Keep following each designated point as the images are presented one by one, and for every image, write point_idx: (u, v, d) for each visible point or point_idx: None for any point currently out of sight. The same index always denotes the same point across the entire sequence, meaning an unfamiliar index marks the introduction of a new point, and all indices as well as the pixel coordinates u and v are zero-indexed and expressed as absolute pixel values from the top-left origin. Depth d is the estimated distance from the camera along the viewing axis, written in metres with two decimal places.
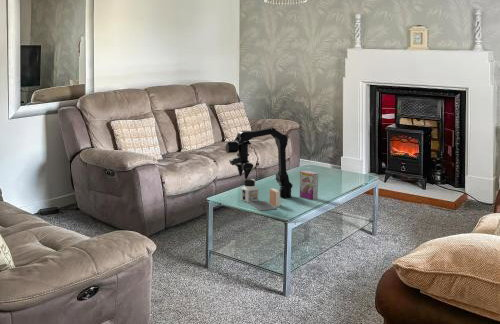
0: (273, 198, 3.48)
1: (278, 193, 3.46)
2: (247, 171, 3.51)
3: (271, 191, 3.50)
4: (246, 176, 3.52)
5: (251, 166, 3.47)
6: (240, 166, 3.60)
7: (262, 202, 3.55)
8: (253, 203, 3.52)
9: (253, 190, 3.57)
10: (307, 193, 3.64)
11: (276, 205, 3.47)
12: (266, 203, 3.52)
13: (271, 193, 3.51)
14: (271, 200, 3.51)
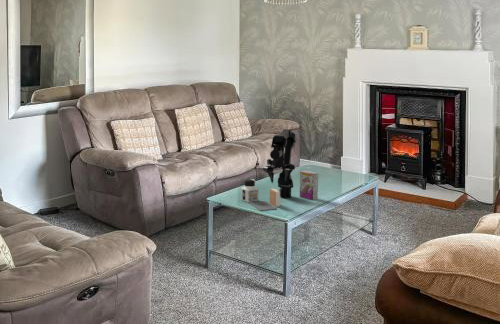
0: (273, 198, 3.48)
1: (278, 193, 3.46)
2: (270, 175, 3.48)
3: (271, 191, 3.50)
4: (271, 180, 3.49)
5: (266, 170, 3.45)
6: (286, 171, 3.53)
7: (262, 202, 3.55)
8: (253, 203, 3.52)
9: (253, 190, 3.57)
10: (307, 193, 3.64)
11: (276, 205, 3.47)
12: (266, 203, 3.52)
13: (271, 193, 3.51)
14: (271, 200, 3.51)
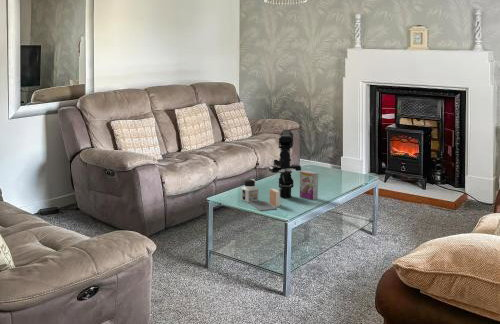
0: (273, 198, 3.48)
1: (278, 193, 3.46)
2: (283, 175, 3.49)
3: (271, 191, 3.50)
4: (283, 180, 3.50)
5: (271, 170, 3.44)
6: None
7: (262, 202, 3.55)
8: (253, 203, 3.52)
9: (253, 190, 3.57)
10: (307, 193, 3.64)
11: (276, 205, 3.47)
12: (266, 203, 3.52)
13: (271, 193, 3.51)
14: (271, 200, 3.51)
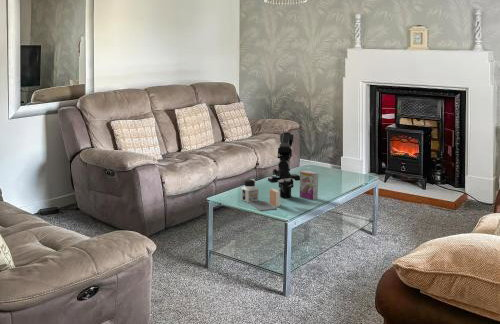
0: (273, 198, 3.48)
1: (278, 193, 3.46)
2: (282, 185, 3.50)
3: (271, 191, 3.50)
4: (282, 189, 3.51)
5: (270, 180, 3.45)
6: (285, 183, 3.51)
7: (262, 202, 3.55)
8: (253, 203, 3.52)
9: (253, 190, 3.57)
10: (307, 193, 3.64)
11: (276, 205, 3.47)
12: (266, 203, 3.52)
13: (271, 193, 3.51)
14: (271, 200, 3.51)
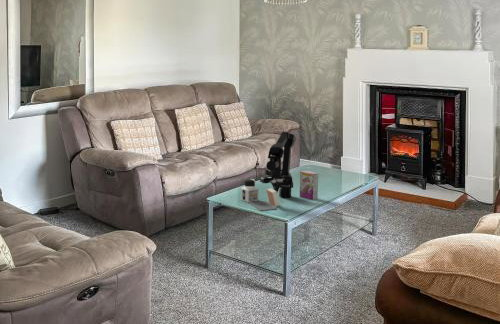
0: (271, 198, 3.48)
1: (275, 193, 3.45)
2: (274, 185, 3.48)
3: (268, 192, 3.50)
4: None
5: (262, 181, 3.43)
6: None
7: (262, 202, 3.55)
8: (253, 203, 3.52)
9: (253, 190, 3.57)
10: (307, 193, 3.64)
11: (276, 205, 3.47)
12: (266, 203, 3.52)
13: (268, 194, 3.50)
14: (270, 200, 3.51)
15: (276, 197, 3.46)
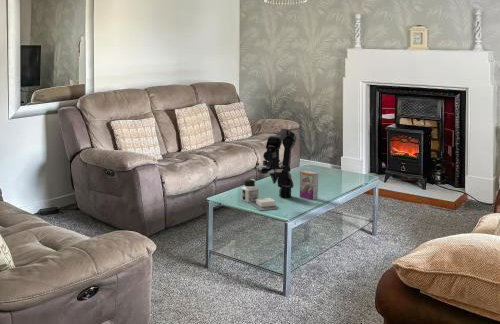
0: None
1: (262, 203, 3.44)
2: (272, 176, 3.48)
3: None
4: (272, 180, 3.49)
5: (260, 171, 3.43)
6: (275, 174, 3.49)
7: None
8: (253, 203, 3.52)
9: (253, 190, 3.57)
10: (307, 193, 3.64)
11: (274, 204, 3.47)
12: None
13: None
14: None
15: (267, 203, 3.45)
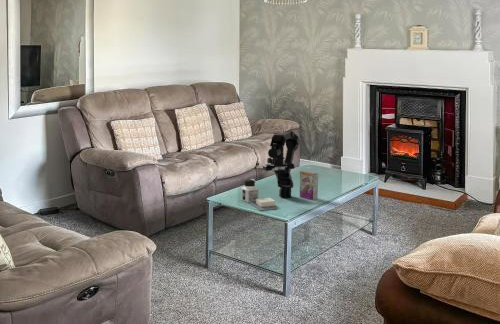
0: None
1: (262, 203, 3.44)
2: (276, 173, 3.54)
3: None
4: (277, 178, 3.55)
5: (265, 168, 3.49)
6: (279, 171, 3.55)
7: None
8: (253, 203, 3.52)
9: (253, 190, 3.57)
10: (307, 193, 3.64)
11: (274, 204, 3.47)
12: None
13: None
14: None
15: (267, 203, 3.45)
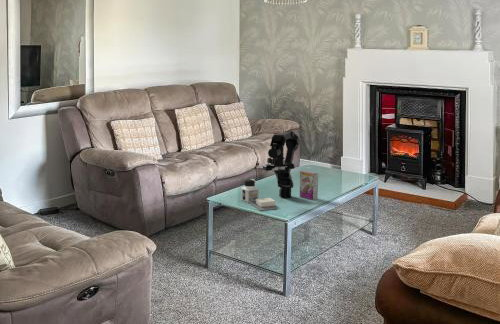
0: None
1: (262, 203, 3.44)
2: (276, 173, 3.54)
3: None
4: (277, 178, 3.55)
5: (265, 168, 3.49)
6: (279, 171, 3.55)
7: None
8: (253, 203, 3.52)
9: (253, 190, 3.57)
10: (307, 193, 3.64)
11: (274, 204, 3.47)
12: None
13: None
14: None
15: (267, 203, 3.45)
